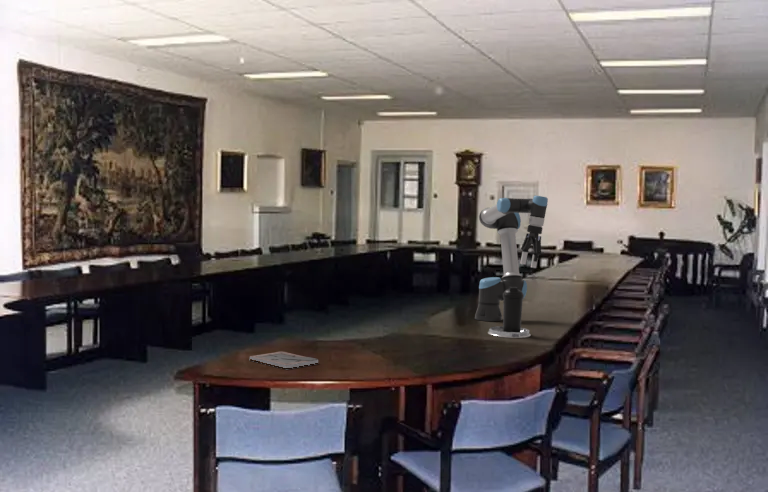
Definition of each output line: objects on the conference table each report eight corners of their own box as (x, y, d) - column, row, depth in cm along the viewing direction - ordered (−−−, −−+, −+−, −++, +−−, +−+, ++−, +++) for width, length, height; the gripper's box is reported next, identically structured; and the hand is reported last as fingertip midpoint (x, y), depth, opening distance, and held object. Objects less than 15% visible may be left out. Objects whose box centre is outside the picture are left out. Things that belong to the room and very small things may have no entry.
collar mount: (482, 330, 402) (482, 325, 402) (522, 330, 405) (522, 326, 405) (495, 337, 381) (495, 332, 381) (536, 338, 385) (536, 332, 384)
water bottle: (521, 331, 398) (523, 286, 397) (522, 335, 388) (524, 288, 387) (501, 331, 400) (502, 285, 398) (501, 334, 389) (503, 287, 388)
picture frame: (318, 365, 308) (281, 356, 323) (318, 359, 308) (281, 350, 322) (286, 371, 296) (249, 362, 310) (286, 364, 296) (249, 355, 310)
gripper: (519, 222, 421) (512, 261, 422) (538, 226, 396) (531, 268, 398) (532, 224, 422) (525, 263, 424) (552, 228, 398) (544, 270, 400)
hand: (528, 265), depth 411 cm, fingers open, 13 cm apart
